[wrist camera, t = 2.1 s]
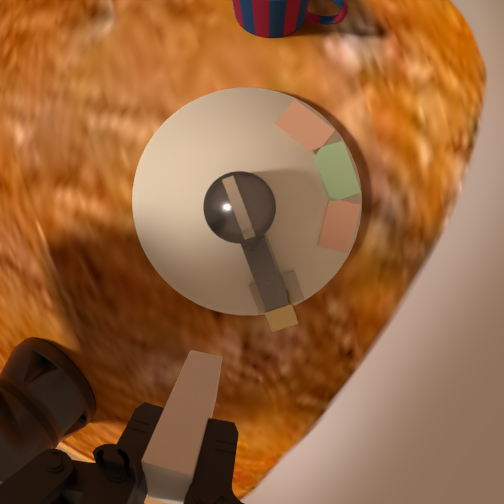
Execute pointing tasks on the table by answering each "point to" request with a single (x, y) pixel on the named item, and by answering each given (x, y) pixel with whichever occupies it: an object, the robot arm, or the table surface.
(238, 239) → the needle
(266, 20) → the mug
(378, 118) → the table surface
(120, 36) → the table surface
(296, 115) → the dial plate
